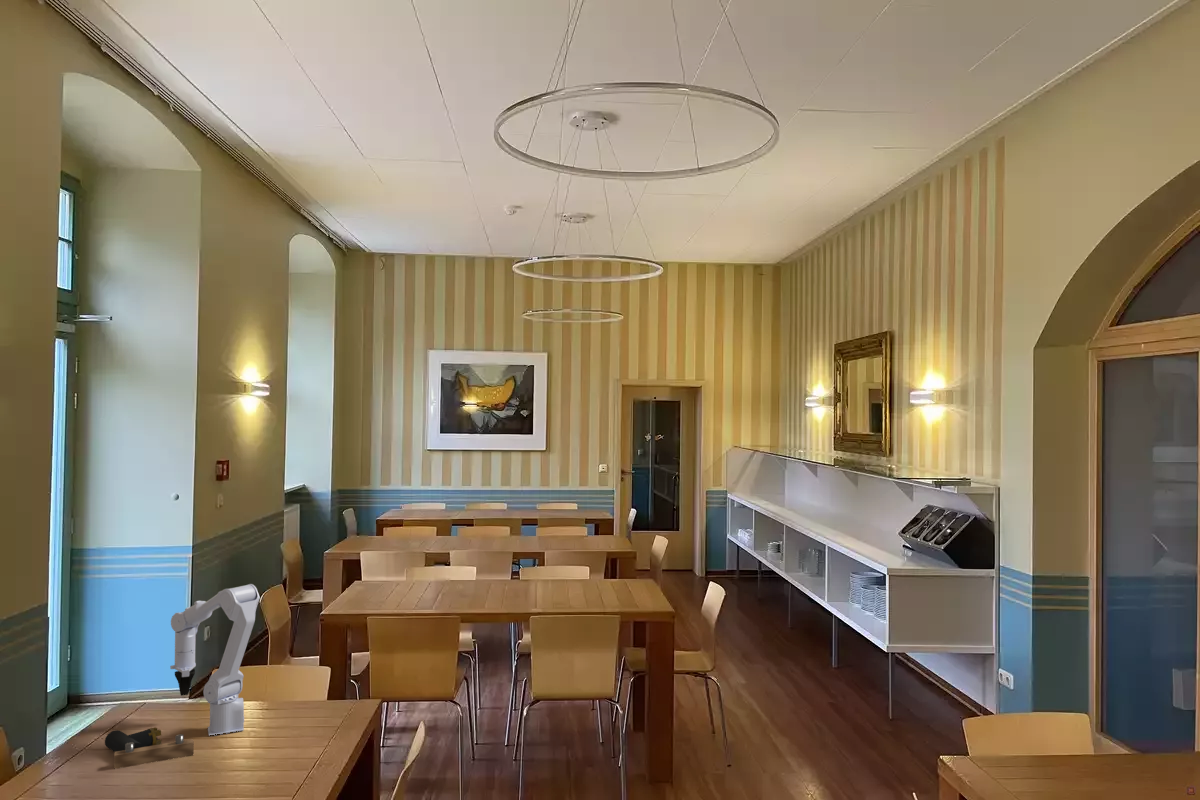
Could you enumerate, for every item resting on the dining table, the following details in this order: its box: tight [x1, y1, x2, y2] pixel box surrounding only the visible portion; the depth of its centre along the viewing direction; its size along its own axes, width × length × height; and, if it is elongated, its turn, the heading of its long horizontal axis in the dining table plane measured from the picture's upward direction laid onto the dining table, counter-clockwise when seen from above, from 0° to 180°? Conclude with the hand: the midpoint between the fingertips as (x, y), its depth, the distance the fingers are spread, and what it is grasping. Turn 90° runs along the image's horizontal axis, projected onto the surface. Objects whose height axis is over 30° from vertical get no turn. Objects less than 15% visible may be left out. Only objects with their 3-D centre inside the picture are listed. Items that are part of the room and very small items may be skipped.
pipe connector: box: [104, 726, 162, 753], centre depth 231 cm, size 12×5×15 cm
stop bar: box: [113, 733, 195, 769], centre depth 224 cm, size 19×3×6 cm, turn 119°
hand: (184, 694), depth 253 cm, fingers closed
